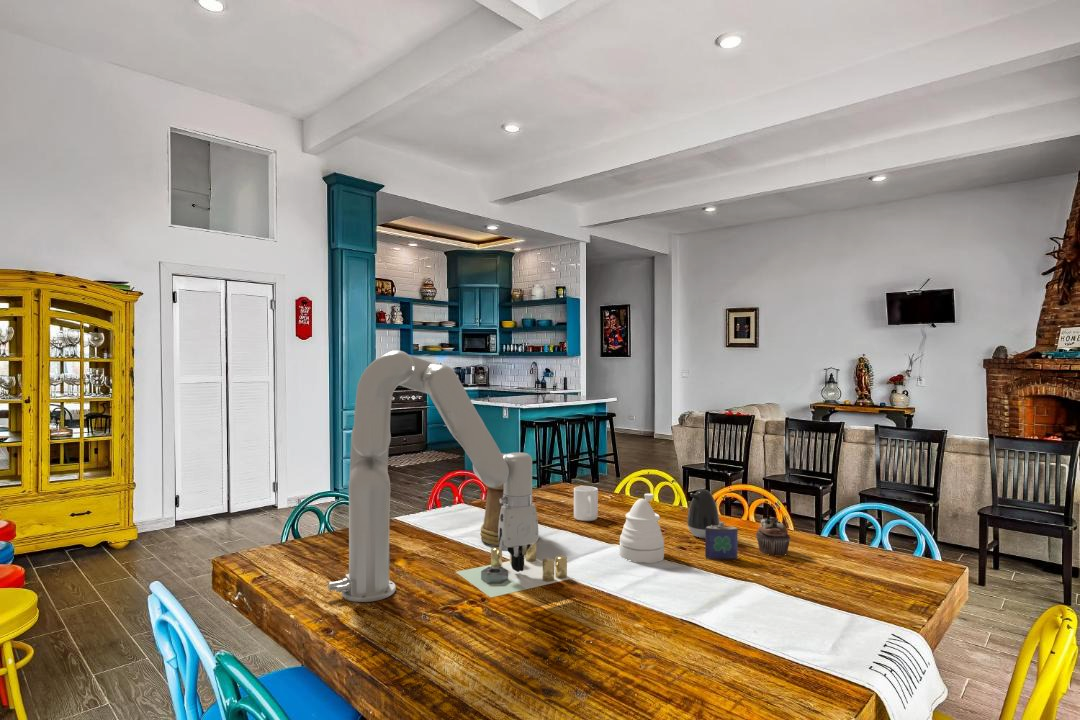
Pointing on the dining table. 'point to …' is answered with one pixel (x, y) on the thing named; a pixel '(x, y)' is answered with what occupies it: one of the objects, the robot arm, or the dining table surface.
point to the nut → (494, 575)
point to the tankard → (492, 515)
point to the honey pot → (642, 533)
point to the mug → (585, 503)
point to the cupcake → (772, 537)
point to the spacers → (531, 557)
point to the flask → (721, 542)
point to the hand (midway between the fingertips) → (517, 569)
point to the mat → (510, 578)
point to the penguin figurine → (702, 513)
